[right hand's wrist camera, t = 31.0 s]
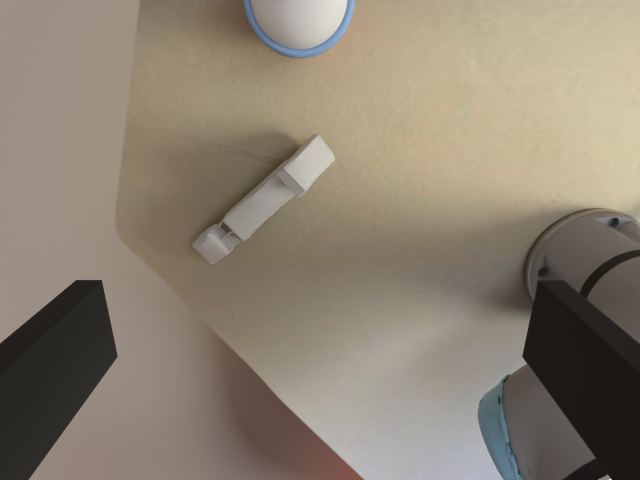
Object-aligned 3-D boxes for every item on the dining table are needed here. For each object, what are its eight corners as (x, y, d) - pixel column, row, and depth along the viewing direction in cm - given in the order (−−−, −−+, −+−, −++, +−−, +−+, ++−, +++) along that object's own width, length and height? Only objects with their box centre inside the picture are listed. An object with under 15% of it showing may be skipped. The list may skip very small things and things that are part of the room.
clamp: (316, 129, 47) (310, 141, 41) (338, 154, 48) (335, 170, 42) (199, 232, 54) (179, 256, 48) (220, 253, 55) (203, 279, 49)
